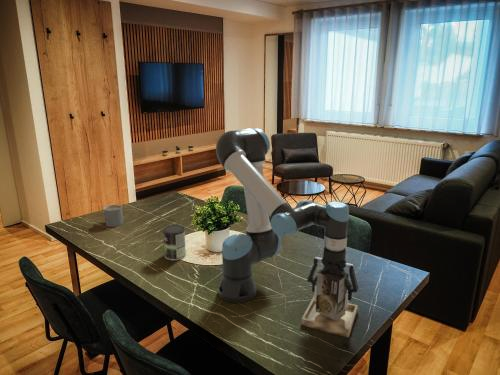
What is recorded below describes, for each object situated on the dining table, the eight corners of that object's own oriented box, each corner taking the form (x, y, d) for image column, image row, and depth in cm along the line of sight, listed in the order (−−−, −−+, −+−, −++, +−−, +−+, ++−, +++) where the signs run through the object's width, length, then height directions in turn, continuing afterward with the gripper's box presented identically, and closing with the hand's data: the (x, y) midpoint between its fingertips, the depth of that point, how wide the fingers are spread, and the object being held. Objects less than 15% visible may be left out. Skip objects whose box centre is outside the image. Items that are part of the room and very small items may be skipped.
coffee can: (165, 261, 183) (164, 234, 179) (163, 252, 192) (161, 226, 188) (187, 258, 186) (186, 231, 182) (184, 249, 195) (183, 223, 191)
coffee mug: (126, 223, 228) (125, 207, 226) (110, 228, 222) (108, 211, 219) (115, 217, 238) (114, 202, 235) (100, 222, 231) (98, 206, 228)
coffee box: (345, 313, 140) (349, 273, 135) (336, 322, 136) (340, 280, 131) (324, 303, 146) (327, 265, 141) (314, 311, 142) (317, 271, 137)
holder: (301, 324, 138) (301, 318, 137) (314, 300, 152) (314, 295, 151) (348, 337, 131) (349, 331, 130) (357, 311, 145) (357, 305, 145)
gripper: (299, 245, 135) (297, 301, 141) (367, 257, 126) (361, 317, 132) (306, 237, 141) (303, 290, 148) (370, 248, 132) (365, 305, 139)
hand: (330, 303), depth 140 cm, fingers open, 10 cm apart
